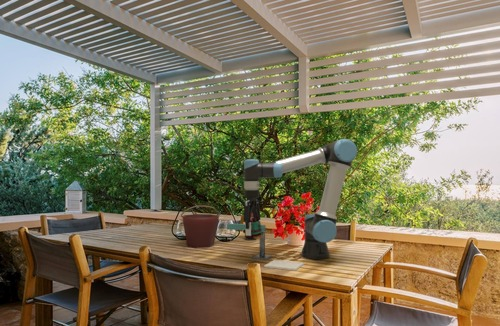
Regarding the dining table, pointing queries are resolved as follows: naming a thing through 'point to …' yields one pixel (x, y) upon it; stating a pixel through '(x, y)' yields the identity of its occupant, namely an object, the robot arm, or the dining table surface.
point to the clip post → (262, 249)
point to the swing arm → (242, 227)
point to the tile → (284, 265)
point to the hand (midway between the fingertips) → (252, 234)
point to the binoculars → (255, 229)
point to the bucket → (200, 228)
